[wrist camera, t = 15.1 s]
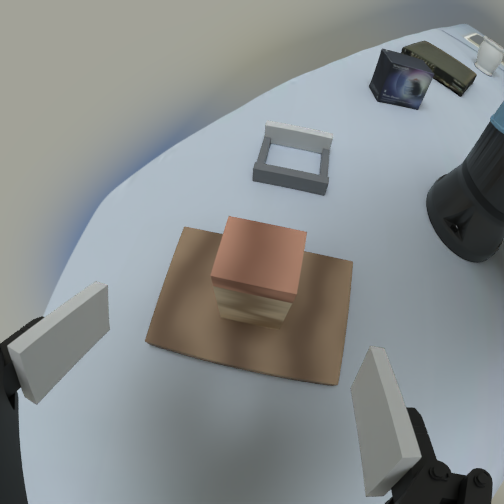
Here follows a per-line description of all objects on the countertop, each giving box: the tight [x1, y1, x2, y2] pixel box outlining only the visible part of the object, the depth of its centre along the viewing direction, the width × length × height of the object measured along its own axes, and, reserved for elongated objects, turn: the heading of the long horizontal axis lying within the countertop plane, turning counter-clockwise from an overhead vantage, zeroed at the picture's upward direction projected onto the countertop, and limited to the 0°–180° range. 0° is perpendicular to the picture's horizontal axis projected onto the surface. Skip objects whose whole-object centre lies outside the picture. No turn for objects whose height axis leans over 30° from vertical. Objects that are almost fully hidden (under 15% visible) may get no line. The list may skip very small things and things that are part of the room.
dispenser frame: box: [253, 121, 333, 195], centre depth 42 cm, size 10×9×4 cm
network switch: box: [401, 41, 477, 96], centre depth 65 cm, size 23×23×5 cm
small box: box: [369, 49, 434, 110], centre depth 50 cm, size 11×6×10 cm, turn 91°
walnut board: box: [145, 227, 353, 386], centre depth 33 cm, size 20×14×2 cm
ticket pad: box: [210, 216, 307, 330], centre depth 27 cm, size 6×5×11 cm
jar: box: [475, 36, 504, 76], centre depth 70 cm, size 11×10×15 cm
